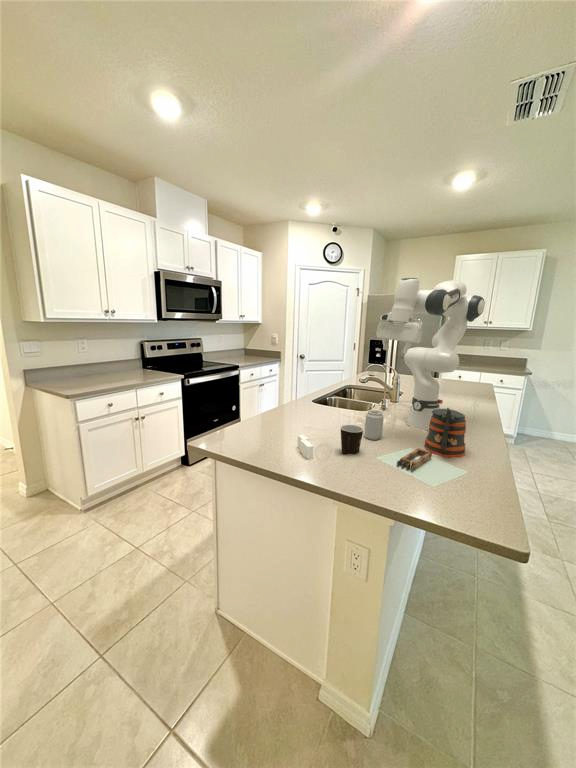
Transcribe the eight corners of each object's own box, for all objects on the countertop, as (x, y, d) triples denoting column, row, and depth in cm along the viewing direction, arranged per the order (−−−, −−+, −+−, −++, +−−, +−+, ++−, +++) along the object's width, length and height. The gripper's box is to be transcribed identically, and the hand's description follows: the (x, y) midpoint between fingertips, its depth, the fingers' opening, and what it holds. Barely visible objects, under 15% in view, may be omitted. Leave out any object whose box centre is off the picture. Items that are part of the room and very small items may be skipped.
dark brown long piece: (416, 454, 117) (417, 448, 117) (431, 459, 113) (432, 452, 113) (396, 466, 106) (397, 460, 106) (411, 472, 103) (412, 465, 102)
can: (379, 435, 140) (382, 409, 137) (383, 441, 132) (385, 414, 130) (363, 434, 140) (365, 408, 138) (365, 440, 133) (367, 413, 131)
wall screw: (410, 470, 104) (411, 460, 104) (411, 470, 104) (412, 461, 103) (409, 470, 104) (410, 460, 103) (410, 471, 104) (411, 461, 103)
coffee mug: (347, 446, 125) (348, 423, 123) (365, 453, 119) (367, 428, 117) (329, 454, 117) (331, 429, 115) (348, 462, 111) (350, 435, 109)
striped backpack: (468, 468, 109) (476, 414, 106) (423, 459, 115) (429, 408, 111) (462, 449, 126) (469, 402, 123) (424, 442, 132) (429, 397, 128)
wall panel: (409, 450, 124) (410, 447, 124) (468, 475, 104) (469, 472, 104) (374, 460, 113) (374, 457, 113) (432, 490, 94) (433, 487, 94)
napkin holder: (316, 463, 111) (317, 448, 110) (286, 458, 114) (286, 444, 113) (323, 447, 125) (324, 434, 124) (296, 443, 128) (297, 430, 127)
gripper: (428, 320, 119) (420, 355, 122) (387, 318, 136) (380, 349, 138) (419, 318, 116) (411, 354, 118) (377, 315, 133) (371, 347, 135)
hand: (394, 351), depth 128 cm, fingers open, 8 cm apart
